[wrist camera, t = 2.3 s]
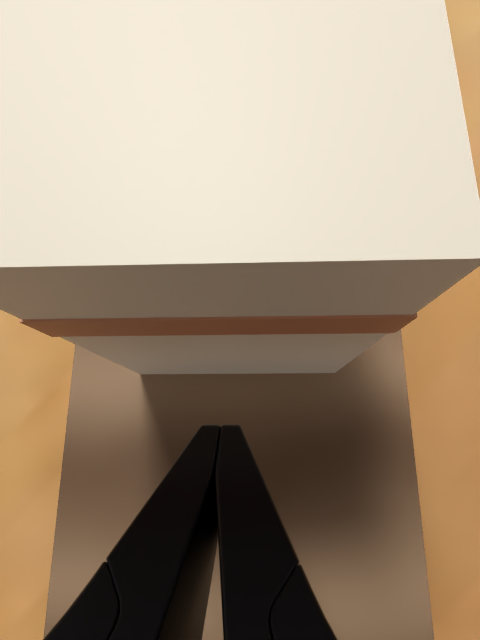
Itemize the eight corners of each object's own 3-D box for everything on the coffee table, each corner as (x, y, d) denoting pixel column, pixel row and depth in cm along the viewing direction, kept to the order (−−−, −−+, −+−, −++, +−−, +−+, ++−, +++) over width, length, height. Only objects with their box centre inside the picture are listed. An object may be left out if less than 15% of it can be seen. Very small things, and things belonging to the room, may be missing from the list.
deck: (408, 734, 14) (454, 827, 11) (78, 723, 15) (24, 810, 12) (366, 264, 19) (390, 229, 16) (116, 269, 20) (86, 236, 16)
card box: (336, 374, 14) (494, 262, 5) (138, 375, 15) (-92, 272, 5) (328, 243, 16) (438, -55, 6) (147, 246, 16) (-22, -31, 6)
